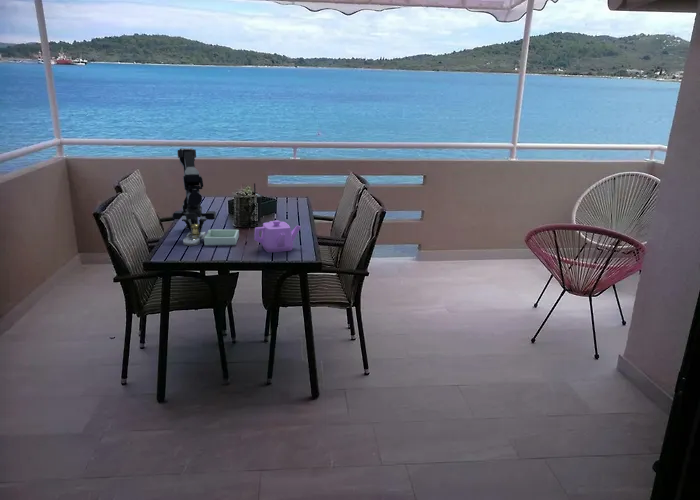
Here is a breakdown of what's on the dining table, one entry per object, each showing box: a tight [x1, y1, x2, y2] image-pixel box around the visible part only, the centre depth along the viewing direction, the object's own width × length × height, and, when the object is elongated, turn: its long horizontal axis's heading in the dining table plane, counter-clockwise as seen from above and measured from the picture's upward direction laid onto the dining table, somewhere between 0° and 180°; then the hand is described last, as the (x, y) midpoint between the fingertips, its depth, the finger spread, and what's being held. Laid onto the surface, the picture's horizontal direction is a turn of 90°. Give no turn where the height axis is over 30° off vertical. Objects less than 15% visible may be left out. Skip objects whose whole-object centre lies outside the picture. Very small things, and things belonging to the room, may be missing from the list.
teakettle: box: [253, 219, 301, 253], centre depth 221 cm, size 17×17×12 cm
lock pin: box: [191, 223, 199, 235], centre depth 233 cm, size 4×4×6 cm
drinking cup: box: [253, 183, 263, 222], centre depth 264 cm, size 8×8×20 cm
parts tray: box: [203, 229, 240, 246], centre depth 229 cm, size 14×14×4 cm
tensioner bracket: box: [182, 231, 207, 247], centre depth 229 cm, size 17×8×3 cm, turn 5°
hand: (195, 233), depth 234 cm, fingers closed on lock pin, 4 cm apart
